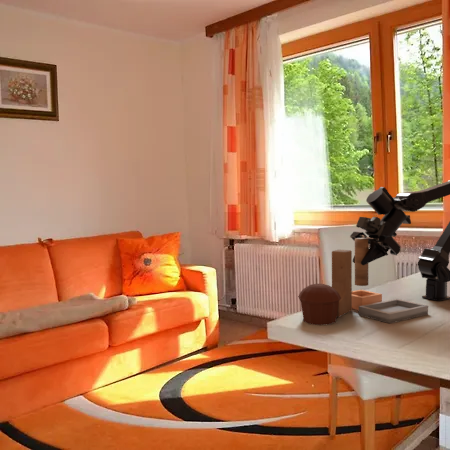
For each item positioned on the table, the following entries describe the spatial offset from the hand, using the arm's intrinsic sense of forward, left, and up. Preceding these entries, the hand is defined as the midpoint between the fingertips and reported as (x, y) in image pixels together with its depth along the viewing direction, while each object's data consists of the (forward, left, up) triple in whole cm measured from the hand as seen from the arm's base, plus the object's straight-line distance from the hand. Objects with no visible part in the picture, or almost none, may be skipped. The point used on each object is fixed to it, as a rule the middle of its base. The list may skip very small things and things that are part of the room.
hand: (357, 263), depth 154 cm
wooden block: (+10, +2, -14) cm, 17 cm away
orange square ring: (-1, 0, -13) cm, 13 cm away
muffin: (+20, +5, -14) cm, 24 cm away
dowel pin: (-1, 0, -7) cm, 7 cm away
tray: (-1, +12, -13) cm, 18 cm away
